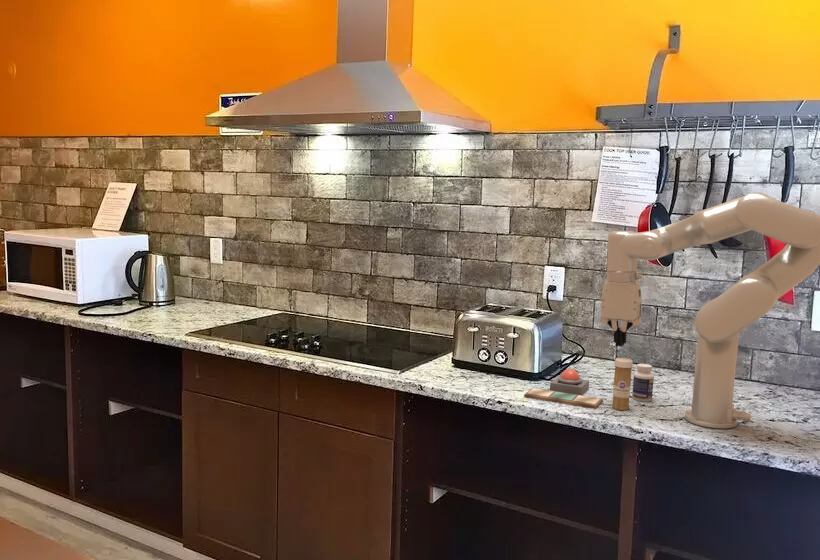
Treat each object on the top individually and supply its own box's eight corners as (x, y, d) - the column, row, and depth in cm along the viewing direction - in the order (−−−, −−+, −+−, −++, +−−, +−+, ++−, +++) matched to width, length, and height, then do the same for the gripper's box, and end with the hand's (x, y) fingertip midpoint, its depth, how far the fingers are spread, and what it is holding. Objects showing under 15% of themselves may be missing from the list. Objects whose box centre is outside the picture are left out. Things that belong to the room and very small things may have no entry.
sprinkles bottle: (614, 410, 200) (617, 360, 198) (609, 405, 205) (613, 356, 203) (631, 410, 200) (634, 361, 198) (626, 405, 205) (630, 357, 203)
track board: (602, 401, 208) (603, 398, 208) (596, 408, 201) (596, 405, 201) (533, 390, 217) (533, 387, 217) (524, 397, 210) (524, 393, 210)
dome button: (584, 387, 219) (585, 368, 219) (578, 392, 213) (579, 373, 213) (561, 383, 223) (562, 365, 222) (554, 388, 217) (555, 369, 216)
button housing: (588, 389, 220) (589, 380, 220) (580, 396, 212) (581, 387, 212) (558, 384, 224) (559, 375, 224) (549, 391, 216) (550, 382, 216)
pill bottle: (651, 403, 208) (653, 368, 207) (630, 400, 210) (633, 366, 209) (653, 398, 213) (655, 364, 212) (633, 395, 215) (635, 362, 214)
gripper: (653, 277, 200) (651, 345, 202) (597, 274, 207) (595, 340, 209) (647, 280, 193) (645, 350, 195) (589, 277, 200) (588, 345, 202)
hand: (619, 345), depth 202 cm, fingers closed
